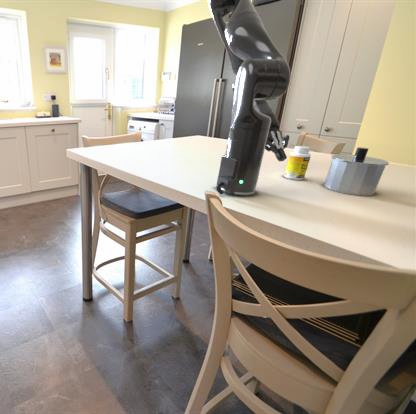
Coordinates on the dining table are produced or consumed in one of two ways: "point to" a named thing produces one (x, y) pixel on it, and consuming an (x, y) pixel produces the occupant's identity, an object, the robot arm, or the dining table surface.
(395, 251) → the dining table surface
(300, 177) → the supplement bottle
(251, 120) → the robot arm
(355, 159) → the pot lid
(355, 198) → the dining table surface
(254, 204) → the dining table surface
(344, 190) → the pot
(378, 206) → the dining table surface
